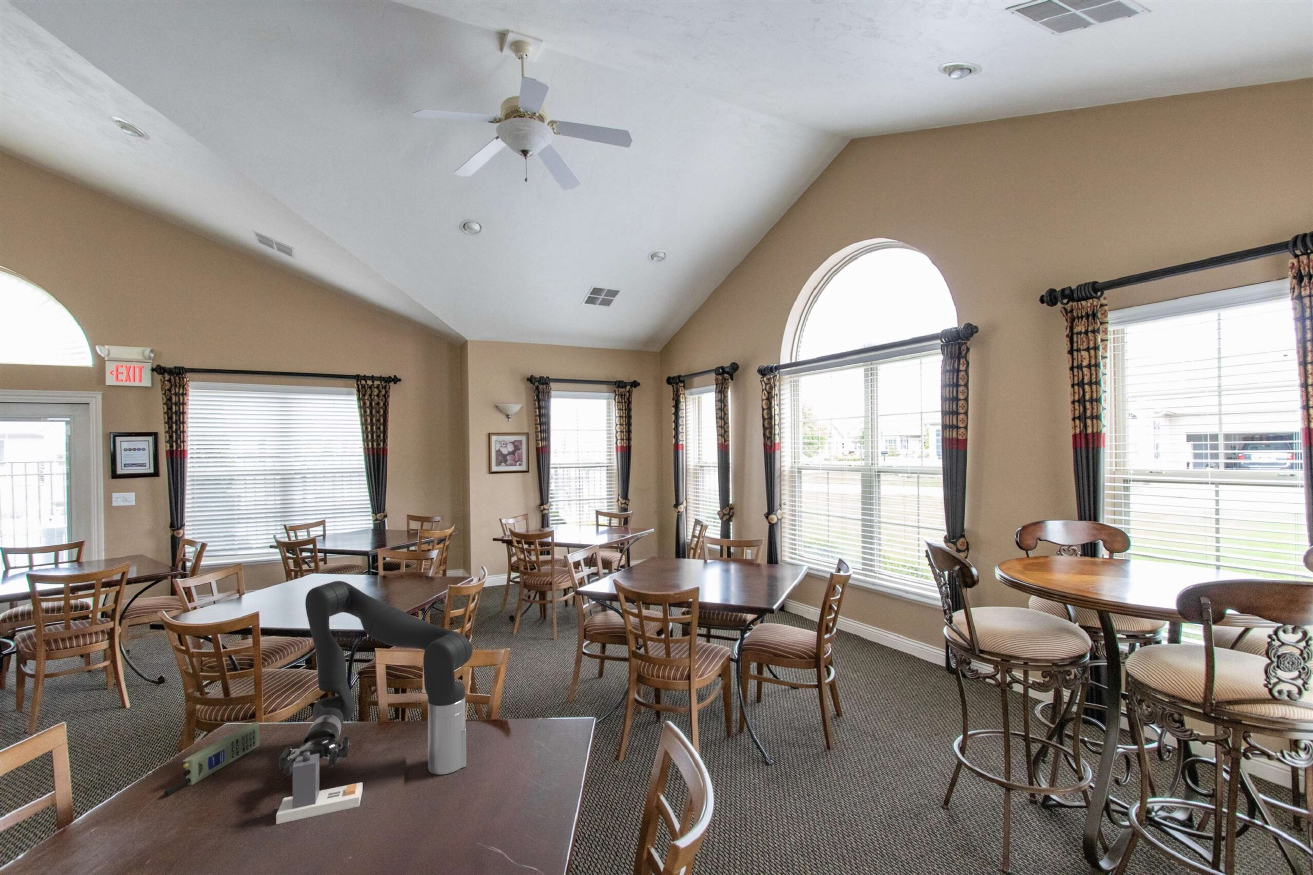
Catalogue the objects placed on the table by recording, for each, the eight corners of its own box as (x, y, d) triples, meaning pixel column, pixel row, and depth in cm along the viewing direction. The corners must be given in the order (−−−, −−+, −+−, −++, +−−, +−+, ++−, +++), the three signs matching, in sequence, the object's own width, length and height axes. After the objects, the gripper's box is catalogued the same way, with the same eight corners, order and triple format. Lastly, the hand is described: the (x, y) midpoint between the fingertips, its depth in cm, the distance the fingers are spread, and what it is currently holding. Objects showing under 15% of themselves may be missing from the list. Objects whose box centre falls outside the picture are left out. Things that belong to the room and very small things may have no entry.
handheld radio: (261, 746, 159) (171, 799, 134) (251, 746, 159) (159, 799, 135) (261, 722, 159) (170, 771, 134) (251, 722, 160) (159, 770, 135)
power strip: (390, 791, 136) (390, 773, 136) (388, 806, 130) (388, 787, 130) (283, 813, 128) (283, 794, 128) (276, 831, 122) (276, 810, 122)
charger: (319, 801, 129) (319, 746, 130) (315, 812, 125) (315, 755, 126) (296, 806, 128) (297, 750, 128) (292, 817, 124) (292, 759, 124)
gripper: (290, 726, 143) (273, 757, 128) (353, 715, 148) (344, 745, 133) (290, 756, 143) (273, 791, 128) (353, 744, 148) (344, 777, 133)
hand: (309, 767), depth 130 cm, fingers open, 8 cm apart
